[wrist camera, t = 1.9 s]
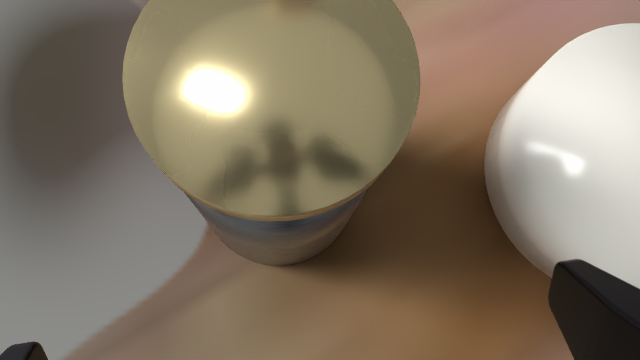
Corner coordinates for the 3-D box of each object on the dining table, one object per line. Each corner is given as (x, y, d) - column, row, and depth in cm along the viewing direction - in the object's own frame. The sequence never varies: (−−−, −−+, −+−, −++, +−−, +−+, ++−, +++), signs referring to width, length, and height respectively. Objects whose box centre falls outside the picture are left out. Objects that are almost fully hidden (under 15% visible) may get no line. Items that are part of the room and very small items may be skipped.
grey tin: (377, 236, 22) (467, 155, 11) (229, 291, 21) (173, 260, 10) (323, 100, 23) (356, -88, 12) (181, 146, 22) (87, -14, 12)
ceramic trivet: (753, 246, 23) (849, 231, 19) (547, 334, 21) (605, 336, 18) (640, 43, 25) (705, -8, 21) (445, 110, 24) (476, 68, 20)
